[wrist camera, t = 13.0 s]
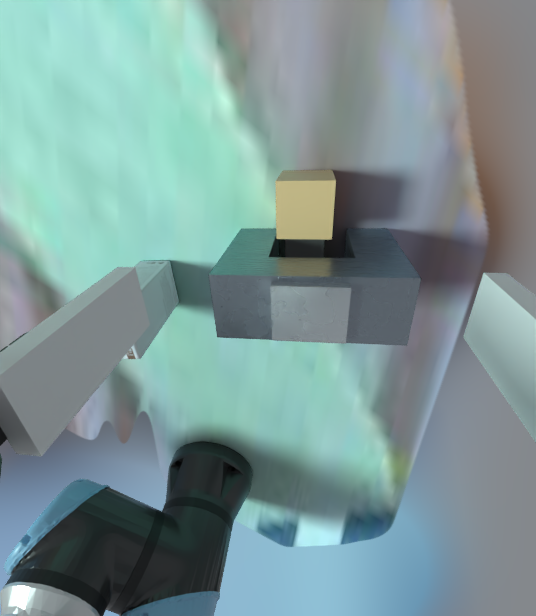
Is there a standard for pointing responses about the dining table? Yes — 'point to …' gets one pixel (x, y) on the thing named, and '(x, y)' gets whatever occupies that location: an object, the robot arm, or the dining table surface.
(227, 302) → the housing
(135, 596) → the robot arm
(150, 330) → the skincare box
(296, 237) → the plug
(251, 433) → the dining table surface
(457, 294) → the dining table surface
